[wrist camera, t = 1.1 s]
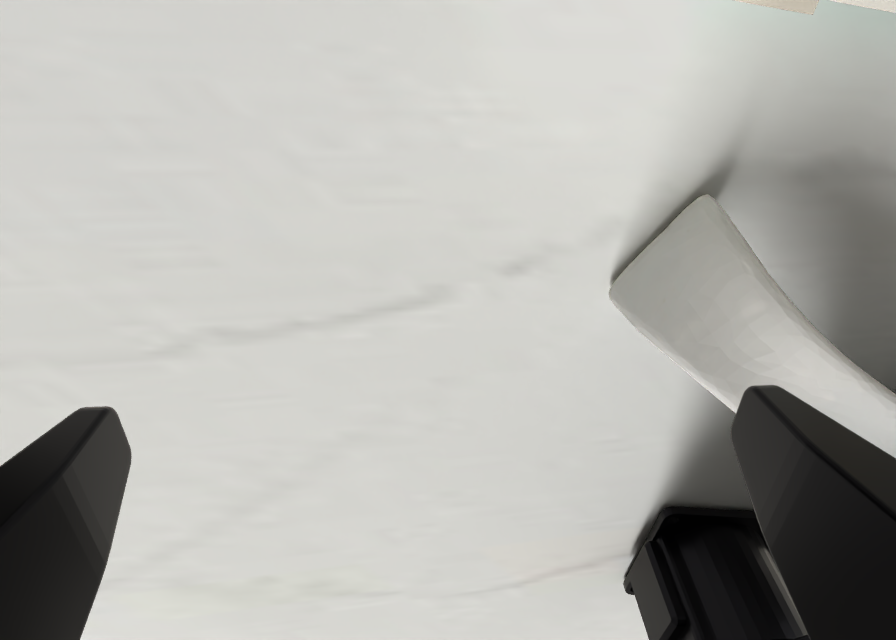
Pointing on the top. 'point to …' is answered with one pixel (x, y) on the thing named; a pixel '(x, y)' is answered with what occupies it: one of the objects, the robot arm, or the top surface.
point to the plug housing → (787, 4)
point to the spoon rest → (742, 325)
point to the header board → (872, 4)
